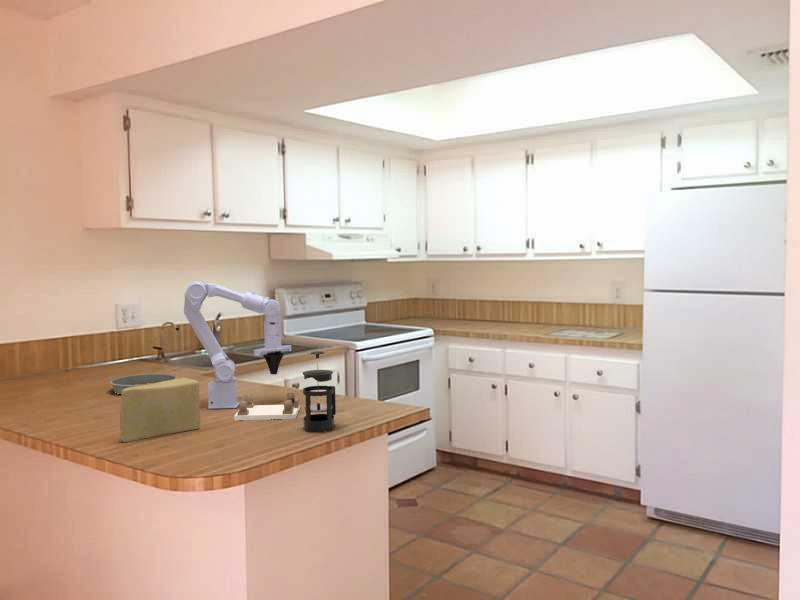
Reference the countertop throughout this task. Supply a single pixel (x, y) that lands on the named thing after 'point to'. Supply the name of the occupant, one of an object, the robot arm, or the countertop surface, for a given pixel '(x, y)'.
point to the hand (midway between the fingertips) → (273, 374)
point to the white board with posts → (266, 410)
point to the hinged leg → (291, 398)
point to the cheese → (159, 409)
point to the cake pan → (139, 380)
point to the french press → (318, 420)
